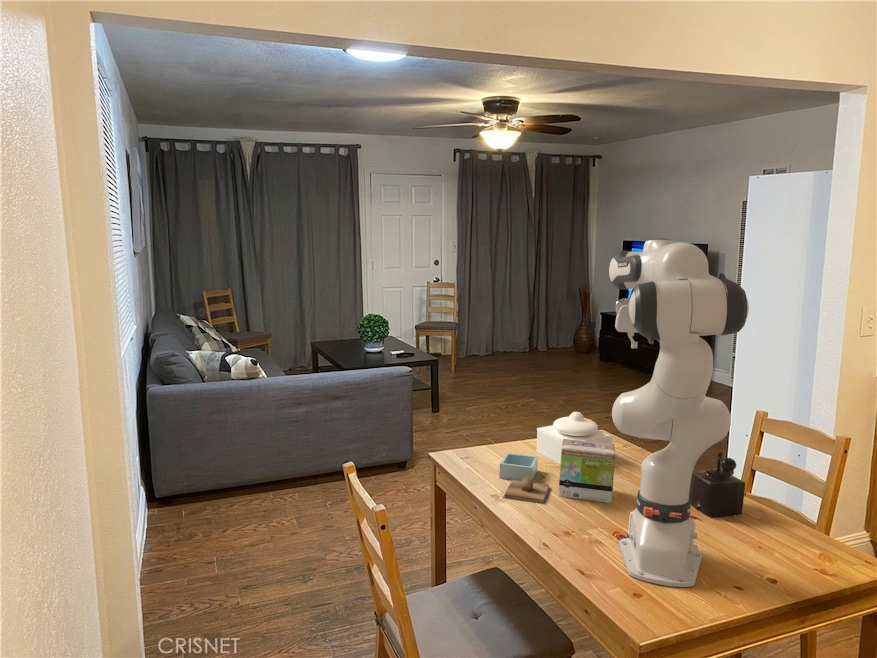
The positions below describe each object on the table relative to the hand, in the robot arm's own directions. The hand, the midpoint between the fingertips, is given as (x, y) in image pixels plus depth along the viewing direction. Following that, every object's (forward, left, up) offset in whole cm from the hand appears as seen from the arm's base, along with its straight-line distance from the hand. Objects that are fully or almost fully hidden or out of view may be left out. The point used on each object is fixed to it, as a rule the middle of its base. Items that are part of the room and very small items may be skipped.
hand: (651, 349), depth 173 cm
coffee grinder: (-2, -20, -44) cm, 49 cm away
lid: (-8, +32, -43) cm, 54 cm away
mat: (-8, +32, -44) cm, 55 cm away
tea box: (-2, +16, -44) cm, 47 cm away
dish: (+5, +37, -44) cm, 57 cm away
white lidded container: (+28, +23, -44) cm, 57 cm away
